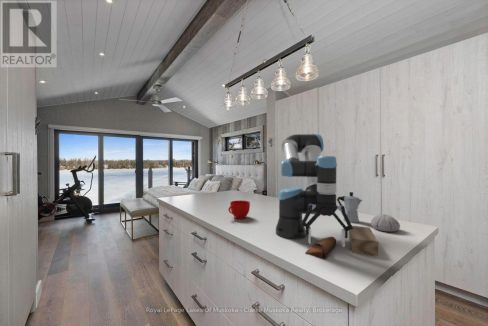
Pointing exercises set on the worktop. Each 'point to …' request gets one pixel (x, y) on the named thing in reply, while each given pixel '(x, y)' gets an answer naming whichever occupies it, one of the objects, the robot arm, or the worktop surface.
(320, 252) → the sunglasses case
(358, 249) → the walnut block
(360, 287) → the worktop surface
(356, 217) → the coffee maker
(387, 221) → the sea urchin shell
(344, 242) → the robot arm
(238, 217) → the ceramic cup
